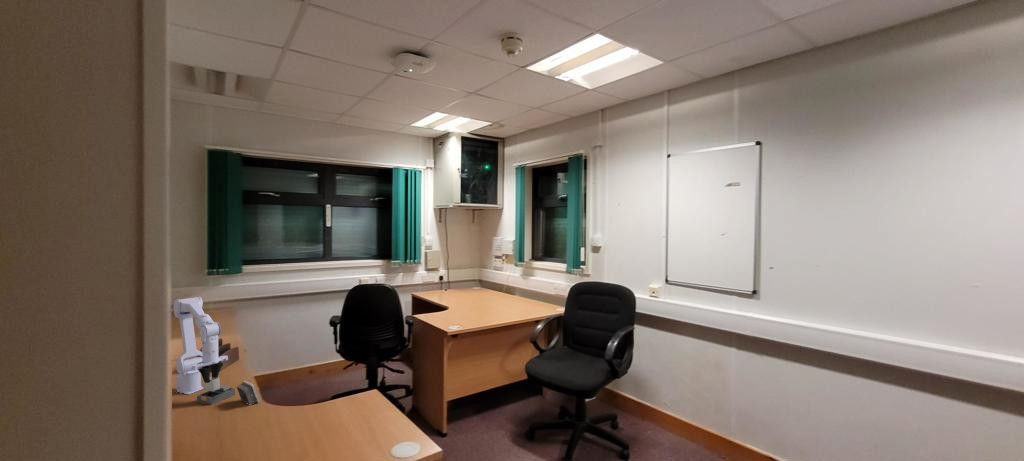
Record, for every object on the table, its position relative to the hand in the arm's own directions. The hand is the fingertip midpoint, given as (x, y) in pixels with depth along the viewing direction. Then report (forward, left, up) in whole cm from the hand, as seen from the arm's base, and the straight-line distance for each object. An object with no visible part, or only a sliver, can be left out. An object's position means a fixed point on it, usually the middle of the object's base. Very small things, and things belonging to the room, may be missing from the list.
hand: (210, 381), depth 178 cm
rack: (0, +3, -9) cm, 9 cm away
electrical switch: (+18, +4, -9) cm, 21 cm away
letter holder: (-40, +35, -9) cm, 54 cm away
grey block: (0, 0, -4) cm, 4 cm away
